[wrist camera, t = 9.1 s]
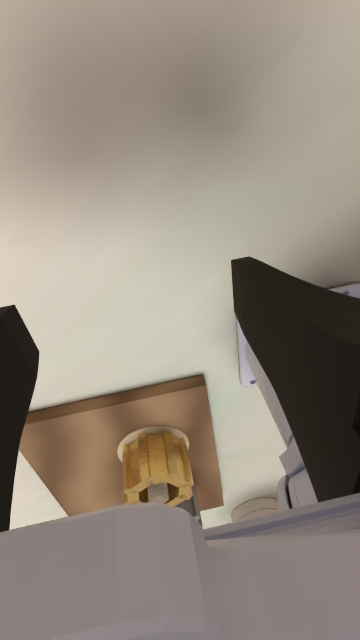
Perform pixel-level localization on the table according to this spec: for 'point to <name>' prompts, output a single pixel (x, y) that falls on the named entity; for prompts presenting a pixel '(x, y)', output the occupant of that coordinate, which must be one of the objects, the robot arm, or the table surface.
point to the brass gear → (156, 467)
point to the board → (120, 443)
